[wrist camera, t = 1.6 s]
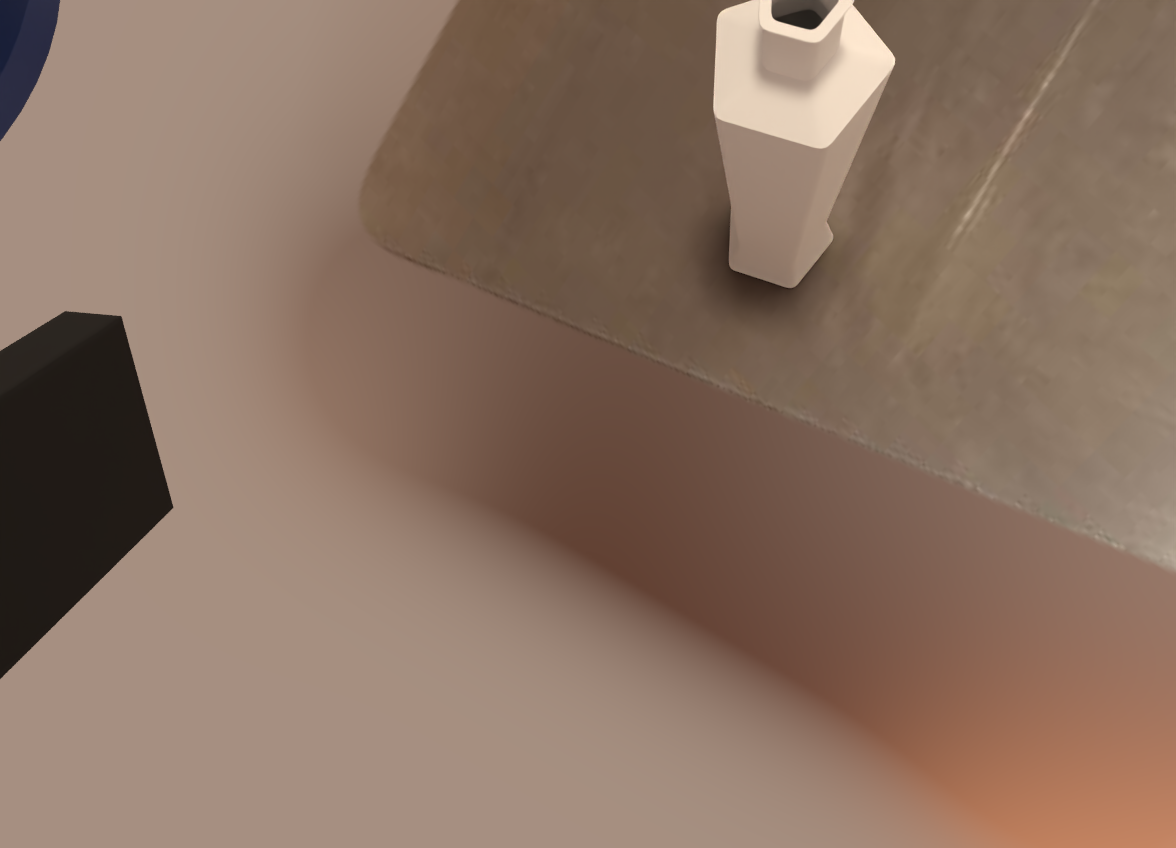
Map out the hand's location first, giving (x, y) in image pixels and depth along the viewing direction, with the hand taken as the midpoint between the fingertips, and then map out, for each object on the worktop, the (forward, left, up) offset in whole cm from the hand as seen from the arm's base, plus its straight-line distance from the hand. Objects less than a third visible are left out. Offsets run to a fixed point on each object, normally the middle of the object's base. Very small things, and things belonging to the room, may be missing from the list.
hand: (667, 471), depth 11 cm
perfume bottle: (-5, +11, -25) cm, 28 cm away
